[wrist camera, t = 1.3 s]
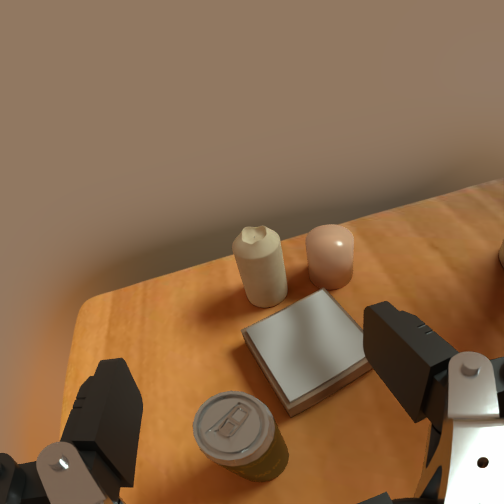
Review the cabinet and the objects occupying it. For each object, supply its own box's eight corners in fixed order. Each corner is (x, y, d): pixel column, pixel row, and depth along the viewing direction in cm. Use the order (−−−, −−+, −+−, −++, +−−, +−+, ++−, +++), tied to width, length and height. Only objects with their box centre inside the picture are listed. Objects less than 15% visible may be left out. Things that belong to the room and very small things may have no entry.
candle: (238, 293, 42) (219, 235, 36) (269, 271, 44) (256, 212, 38) (265, 315, 38) (249, 256, 32) (296, 290, 40) (288, 229, 34)
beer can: (255, 424, 28) (223, 374, 20) (300, 449, 25) (290, 412, 17) (223, 463, 25) (173, 431, 17) (267, 492, 22) (237, 479, 14)
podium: (324, 301, 38) (323, 285, 36) (378, 363, 30) (382, 349, 28) (245, 342, 36) (239, 328, 34) (290, 417, 28) (288, 408, 26)
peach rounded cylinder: (335, 252, 44) (334, 218, 40) (361, 276, 40) (363, 242, 36) (300, 270, 43) (296, 236, 39) (325, 297, 39) (323, 263, 35)
